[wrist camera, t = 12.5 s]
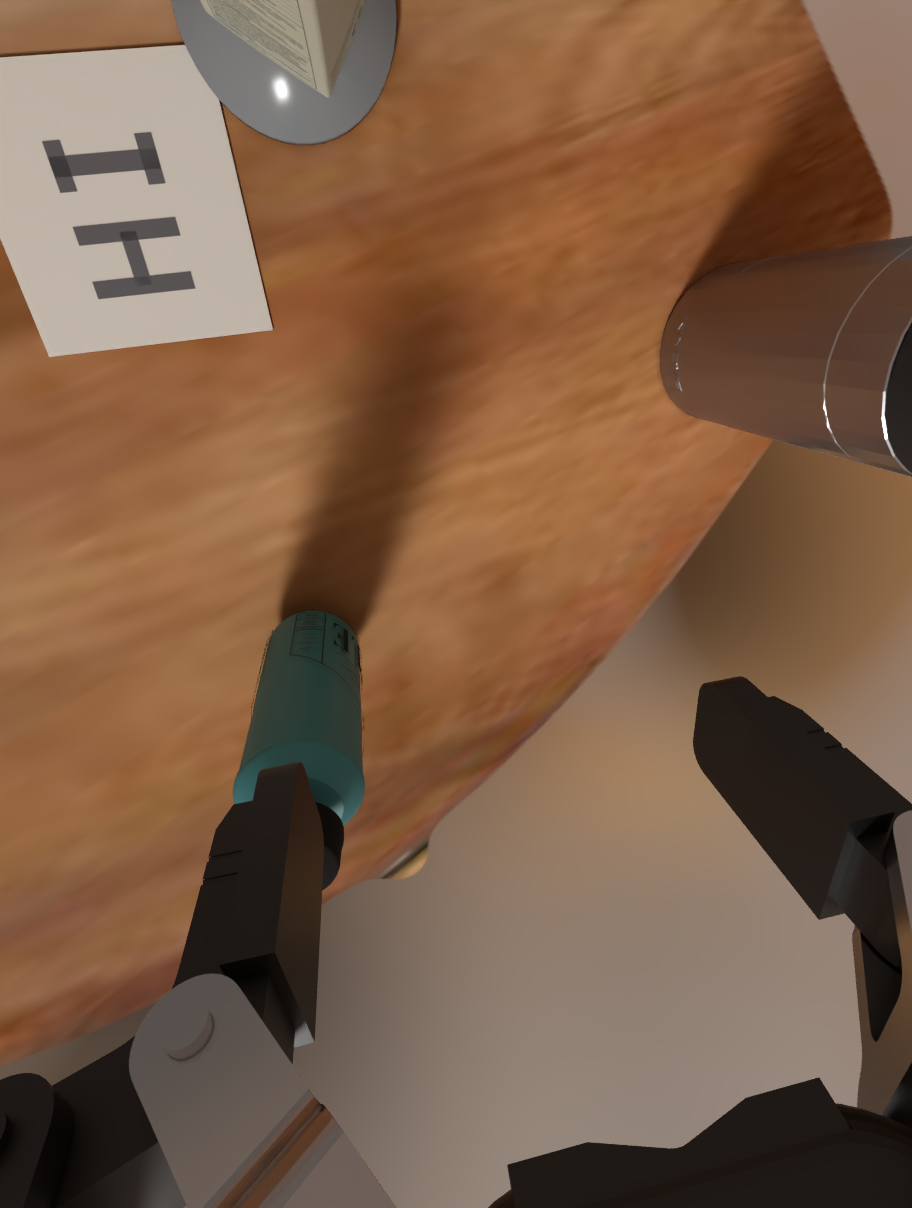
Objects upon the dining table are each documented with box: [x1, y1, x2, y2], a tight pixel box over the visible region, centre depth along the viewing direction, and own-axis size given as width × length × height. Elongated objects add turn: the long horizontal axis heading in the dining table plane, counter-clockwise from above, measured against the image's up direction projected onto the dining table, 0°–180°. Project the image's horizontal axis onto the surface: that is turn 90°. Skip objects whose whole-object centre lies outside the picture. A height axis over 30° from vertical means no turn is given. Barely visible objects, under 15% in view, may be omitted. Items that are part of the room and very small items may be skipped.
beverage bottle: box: [233, 610, 365, 890], centre depth 32 cm, size 6×7×20 cm
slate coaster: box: [171, 0, 396, 145], centre depth 25 cm, size 10×10×1 cm
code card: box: [0, 45, 273, 357], centre depth 28 cm, size 12×12×1 cm
